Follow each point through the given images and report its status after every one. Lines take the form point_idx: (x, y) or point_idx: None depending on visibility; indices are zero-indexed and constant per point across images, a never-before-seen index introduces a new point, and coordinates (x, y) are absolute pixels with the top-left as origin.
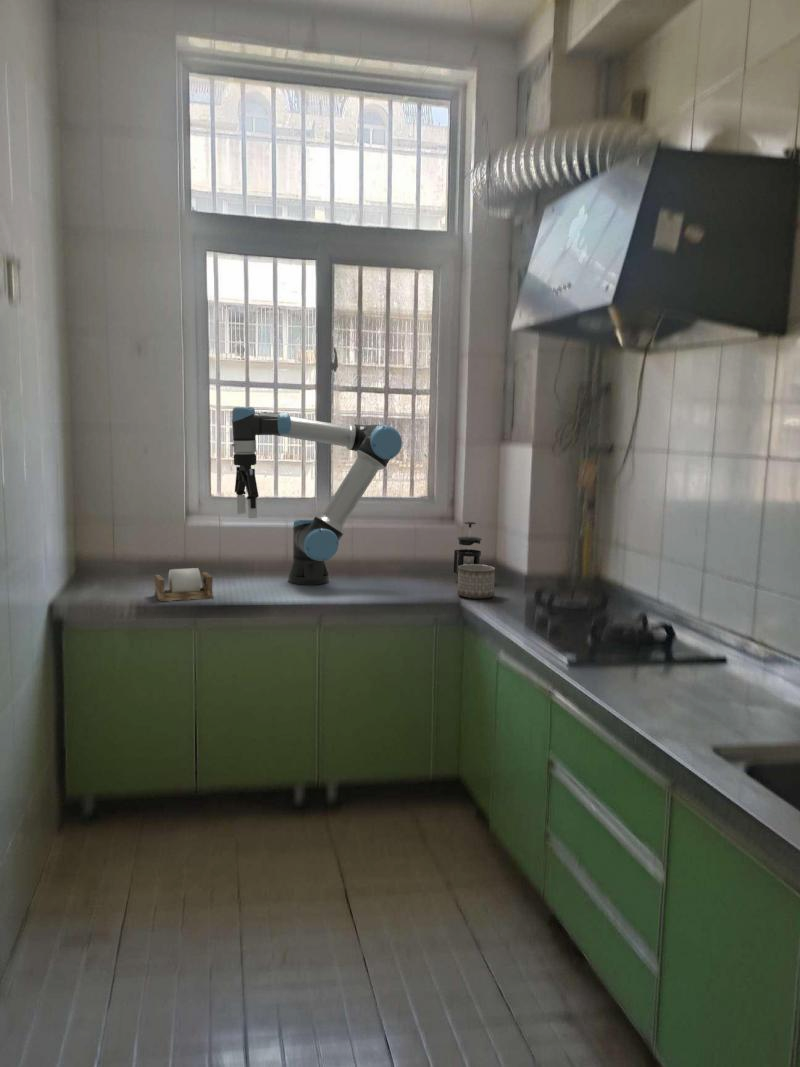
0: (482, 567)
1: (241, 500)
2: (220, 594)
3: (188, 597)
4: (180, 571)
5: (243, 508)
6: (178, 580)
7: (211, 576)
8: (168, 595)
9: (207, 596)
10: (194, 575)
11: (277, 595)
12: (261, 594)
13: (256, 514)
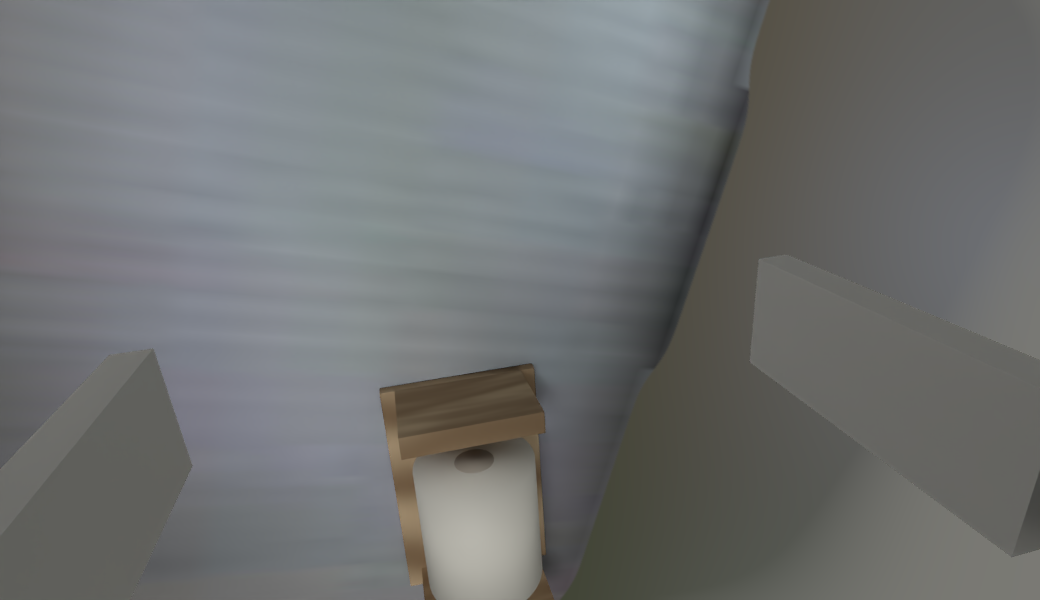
0: None
1: (55, 597)
2: (455, 327)
3: (536, 462)
4: (520, 568)
5: (127, 432)
6: (540, 547)
7: (529, 415)
8: None
9: (535, 390)
10: (533, 496)
11: (545, 47)
12: (501, 129)
13: (823, 275)
